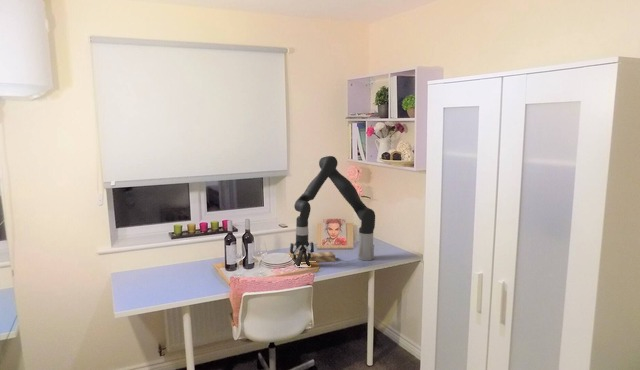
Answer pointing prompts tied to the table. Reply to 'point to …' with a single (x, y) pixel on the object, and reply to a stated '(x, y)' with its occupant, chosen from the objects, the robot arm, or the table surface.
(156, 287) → the table surface
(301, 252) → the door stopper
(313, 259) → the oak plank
